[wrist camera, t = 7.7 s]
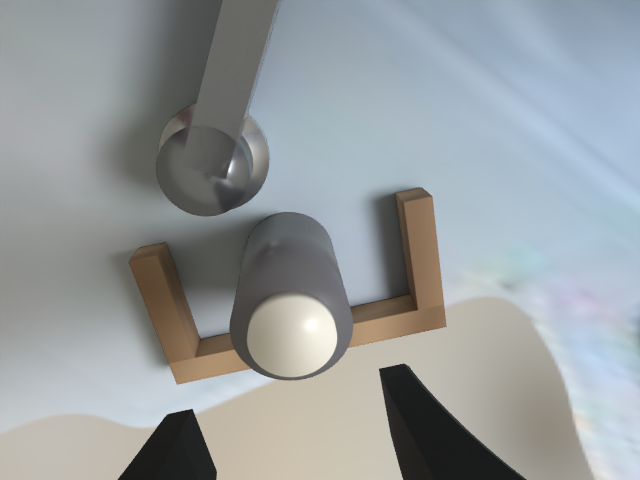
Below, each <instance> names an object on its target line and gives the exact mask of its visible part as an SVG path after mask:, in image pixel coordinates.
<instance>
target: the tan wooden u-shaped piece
mask: <svg viewBox="0 0 640 480" xmlns="http://www.w3.org/2000/svg"><path fill="white" fill-rule="evenodd" d="M395 195H396V202H397V209H398V216H399V223H400V230H401V238H402V245H403V252H404V259H405V266H406V273H407V281H408V288H409V295H406V296H401V297H396V298H392V299H387V300H382V301H378V302H373V303H368V304H364V305H359V306H354V307H350V310H351V313H352V317H353V334H352V338H351V341H350V344H349V346H348V348H350V347H355V346H359V345H364V344H369V343H373V342H378V341H383V340H387V339H392V338H397V337H401V336H406V335H410V334H415V333H420V332H425V331H429V330H434V329H439V328H443V327H446V319H445V309H444V300H443V290H442V281H441V272H440V263H439V253H438V244H437V235H436V226H435V216H434V207H433V198H432V196H431V195H430V194H429V193H428V192H427V191H425V190H424V189H423V188H417V189H412V190H408V191H403V192H398V193H395ZM129 264H130V267H131V269H132V272H133V274H134V277H135V279H136V282H137V284H138V287H139V289H140V292H141V294H142V297H143V300H144V302H145V305H146V307H147V310H148V312H149V315H150V317H151V320H152V322H153V325H154V328H155V330H156V333H157V335H158V338H159V340H160V343H161V345H162V348H163V350H164V353H165V355H166V358H167V361H168V363H169V366H170V368H171V371H172V373H173V376H174V378H175V381H176V383H177V384H182V383H187V382H191V381H196V380H201V379H205V378H210V377H215V376H219V375H224V374H229V373H233V372H238V371H243V370H247V369H251V368H250V367H249V366H247V365H246V364H245V363H244V362H243V361H242V360H241V358H240V357H239V356H238V354H237V353H236V351H235V349H234V347H233V344H232V342H231V337H230V333H228V334H224V335H219V336H214V337H210V338H205V339H200V337H199V334H198V331H197V329H196V326H195V323H194V320H193V317H192V314H191V312H190V309H189V306H188V303H187V300H186V297H185V295H184V292H183V289H182V286H181V283H180V280H179V278H178V275H177V272H176V269H175V266H174V263H173V261H172V258H171V255H170V252H169V249H168V246H167V244H166V242H165V243H160V244H155V245H151V246H146V247H141V248H139V249H138V250H137V252H136V253H135V254H134V255H133V256H132V258H131V259H130V260H129Z"/></svg>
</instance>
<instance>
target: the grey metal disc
mask: <svg viewBox="0 0 640 480" xmlns="http://www.w3.org/2000/svg"><path fill="white" fill-rule="evenodd" d="M195 107H196V104H194V105H191V106H189V107H187V108H184V109H183V110H181V111H180V112H178V113H177V114H176V115H175V116H173V117H172V119H171V120H170V121H169V122H168V123H167V125H166V127H165V128H164V130H163V132H162V135H161V138H160V141H159V148H158V154H159V151H160V149H161V147H162V146H163V144H164V143H165V141H166V140H167V139H168V138H169V137H170V136H171V135H173V134H174V133H176V132H177V131H179V130H181V129H182V128H184V127H186V126H188V125H190V124H191V122H192V118H193V114H194V110H195ZM242 135H243V137H244V138H245V139H246V141H247V143H248V144H249V146H250V149H251V152H252V156H253V171H252V175H251V178H250V181H249V185H248V188H247V190H246V193H245V194H244V196H243V198H242V199H241V200H240V202H239V203H238V204H237V205H236V206H235V207H233V208H232V209H234V208H237V207H239V206H242V205H243V204H245V203H247V202H248V201H249V200H251V199H252V198H253V197H254V196H255V195H256V194H257V193H258V191H259V190H260V189H261V187H262V185H263V183H264V182H265V179H266V176H267V172H268V168H269V149H268V144H267V141H266V138H265V136H264V133H263V131H262V130H261V128H260V127H259V125H258V124H257V123H256V121H255V120H254V119H253V118H252V117H251V116H250V115H247V119H246V122H245V126H244V129H243V132H242Z"/></svg>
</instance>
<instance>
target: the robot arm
mask: <svg viewBox="0 0 640 480" xmlns="http://www.w3.org/2000/svg"><path fill="white" fill-rule="evenodd" d="M379 371H380V377H381V382H382V389H383V394H384V399H385V405H386V411H387V416H388V421H389V427H390V432H391V437H392V441H393V444H394V448H395V452H396V455H397V459H398V463H399V466H400V470H401V474H402V477H403V480H526V479H525V478H524V477H522V476H521V475H520V474H519V473H517V472H516V471H515V470H513V469H512V468H511V467H510V466H508V465H507V464H506V463H505V462H503V461H502V460H501V459H500V458H499V457H498V456H496V455H495V454H494V453H493V452H492V451H490V450H489V449H488V448H487V447H486V446H485V445H484V444H482V443H481V442H480V441H479V440H478V439H477V438H476V437H475V436H473V435H472V434H471V433H470V432H469V431H468V430H467V429H466V428H465V427H464V426H463V425H461V423H460V422H459V421H458V420H457V419H456V418H454V416H452V414H450V413H449V412H448V411H447V410H446V409H445V408H444V406H442V404H441V403H440V402H438V400H437V399H436V398H435V397H434V396H433V395H432V394H431V393H430V392H429V391H428V389H427V388H426V387H425V386H424V385H423V384H422V382H421V381H420V380H419V379H418V378H417V376H416V375H415V374H414V373H413V371H412V370H411V368H410V367H409V366H407V365H406V364H400V365H395V366H390V367H386V368H381V369H379ZM216 476H217V471H216V468H215V466H214V463H213V461H212V458H211V456H210V453H209V450H208V448H207V445H206V443H205V440H204V437H203V435H202V432H201V430H200V427H199V425H198V422H197V419H196V417H195V414H194V412H193V409H190V410H185V411H181V412H176V413H171V414H167V415H166V417H165V418H164V419H163V421H162V422H161V423H160V424H159V426H158V427H157V428H156V430H155V431H154V432H153V434H152V435H151V436H150V438H149V439H148V440H147V442H146V443H145V445H144V446H143V447H142V449H141V450H140V451H139V453H138V454H137V455H136V456H135V458H134V459H133V461H132V462H131V463H130V464H129V466H128V467H127V468H126V470H125V471H124V472H123V474H122V475H121V476H120V477H119V479H118V480H216Z"/></svg>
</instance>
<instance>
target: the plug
mask: <svg viewBox="0 0 640 480" xmlns="http://www.w3.org/2000/svg"><path fill="white" fill-rule="evenodd" d="M352 334H353V317H352V313H351V310H350V306H349V302H348V299H347V295H346V292H345V288H344V285H343V281H342V278H341V274H340V271H339V267H338V264H337V260H336V256H335V253H334V249H333V246H332V242H331V239H330V237H329V235H328V233H327V231H326V230H325V229H324V227H323V226H322V225H321V224H320V223H319V222H317V221H316V220H314V219H313V218H311V217H309V216H307V215H304V214H300V213H294V212H284V213H279V214H275V215H272V216H270V217H268V218H266V219H264V220H263V221H262V222H260V223H259V224H258V225H257V226H256V227H255V228H254V230H253V231H252V232H251V234H250V236H249V238H248V241H247V245H246V249H245V254H244V259H243V263H242V268H241V273H240V277H239V282H238V287H237V291H236V296H235V301H234V305H233V310H232V315H231V319H230V337H231V342H232V344H233V347H234V349H235V351H236V353H237V354H238V356H239V357H240V358H241V360H242V361H243V362H244V363H245V364H246V365H247V366H249V367H250V368H251V369H253V370H254V371H256V372H258V373H260V374H262V375H264V376H267V377H270V378H274V379H279V380H301V379H306V378H310V377H313V376H316V375H318V374H320V373H322V372H324V371H326V370H327V369H329V368H330V367H332V366H333V365H334V364H335V363H337V362H338V361H339V359H340V358H341V357H342V356H343V355H344V353H345V352H346V350H347V348H348V346H349V344H350V341H351V338H352Z"/></svg>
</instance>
